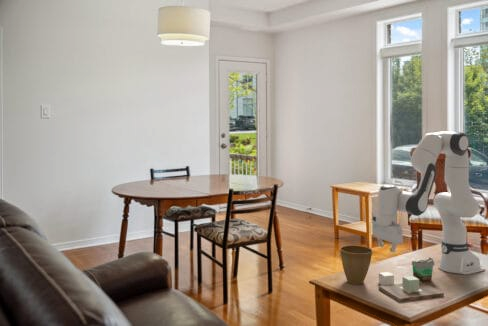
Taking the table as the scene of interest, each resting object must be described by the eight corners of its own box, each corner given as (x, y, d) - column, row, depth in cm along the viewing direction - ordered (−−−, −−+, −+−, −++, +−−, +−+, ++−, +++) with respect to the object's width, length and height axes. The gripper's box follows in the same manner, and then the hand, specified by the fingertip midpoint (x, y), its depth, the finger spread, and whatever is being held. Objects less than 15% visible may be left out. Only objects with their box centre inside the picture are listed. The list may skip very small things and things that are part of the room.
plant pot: (356, 289, 215) (356, 255, 214) (333, 280, 228) (333, 248, 226) (378, 283, 223) (379, 250, 222) (355, 274, 236) (356, 243, 234)
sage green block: (412, 286, 213) (412, 275, 213) (419, 290, 209) (419, 279, 208) (402, 287, 212) (402, 276, 212) (409, 291, 207) (409, 280, 207)
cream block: (387, 282, 225) (388, 271, 224) (394, 285, 220) (394, 275, 220) (378, 283, 224) (378, 272, 223) (384, 286, 219) (384, 276, 218)
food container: (421, 285, 220) (421, 264, 219) (411, 281, 225) (411, 260, 224) (439, 280, 226) (440, 260, 225) (429, 277, 231) (429, 257, 230)
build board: (420, 284, 221) (420, 280, 221) (443, 296, 206) (443, 292, 206) (378, 289, 215) (379, 285, 215) (399, 302, 200) (399, 298, 200)
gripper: (406, 224, 210) (406, 254, 211) (381, 215, 230) (380, 243, 231) (394, 225, 208) (393, 255, 209) (369, 216, 228) (369, 244, 229)
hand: (386, 249), depth 220 cm, fingers open, 8 cm apart
